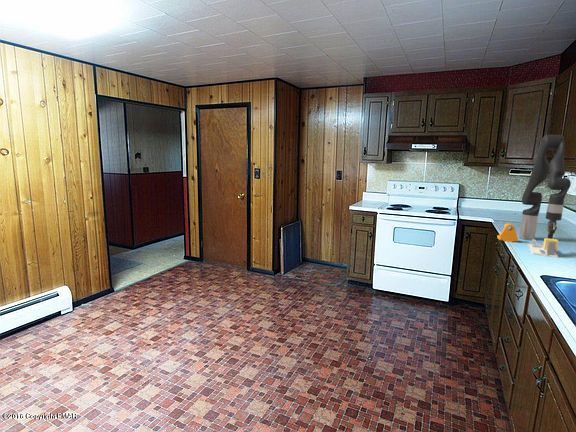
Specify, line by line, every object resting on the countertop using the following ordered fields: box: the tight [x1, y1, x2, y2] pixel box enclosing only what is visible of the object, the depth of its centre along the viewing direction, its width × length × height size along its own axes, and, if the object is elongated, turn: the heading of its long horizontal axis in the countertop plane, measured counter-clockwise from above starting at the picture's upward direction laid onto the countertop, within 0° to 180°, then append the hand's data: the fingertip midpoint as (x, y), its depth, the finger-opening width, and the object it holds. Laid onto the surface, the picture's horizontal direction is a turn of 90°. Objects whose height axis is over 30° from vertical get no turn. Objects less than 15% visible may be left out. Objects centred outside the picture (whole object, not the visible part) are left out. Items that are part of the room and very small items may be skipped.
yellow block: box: [542, 237, 559, 252], centre depth 205 cm, size 5×6×6 cm
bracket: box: [497, 222, 519, 243], centre depth 238 cm, size 11×7×12 cm, turn 72°
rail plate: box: [527, 239, 559, 258], centre depth 213 cm, size 24×12×8 cm, turn 152°
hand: (549, 239), depth 208 cm, fingers closed
